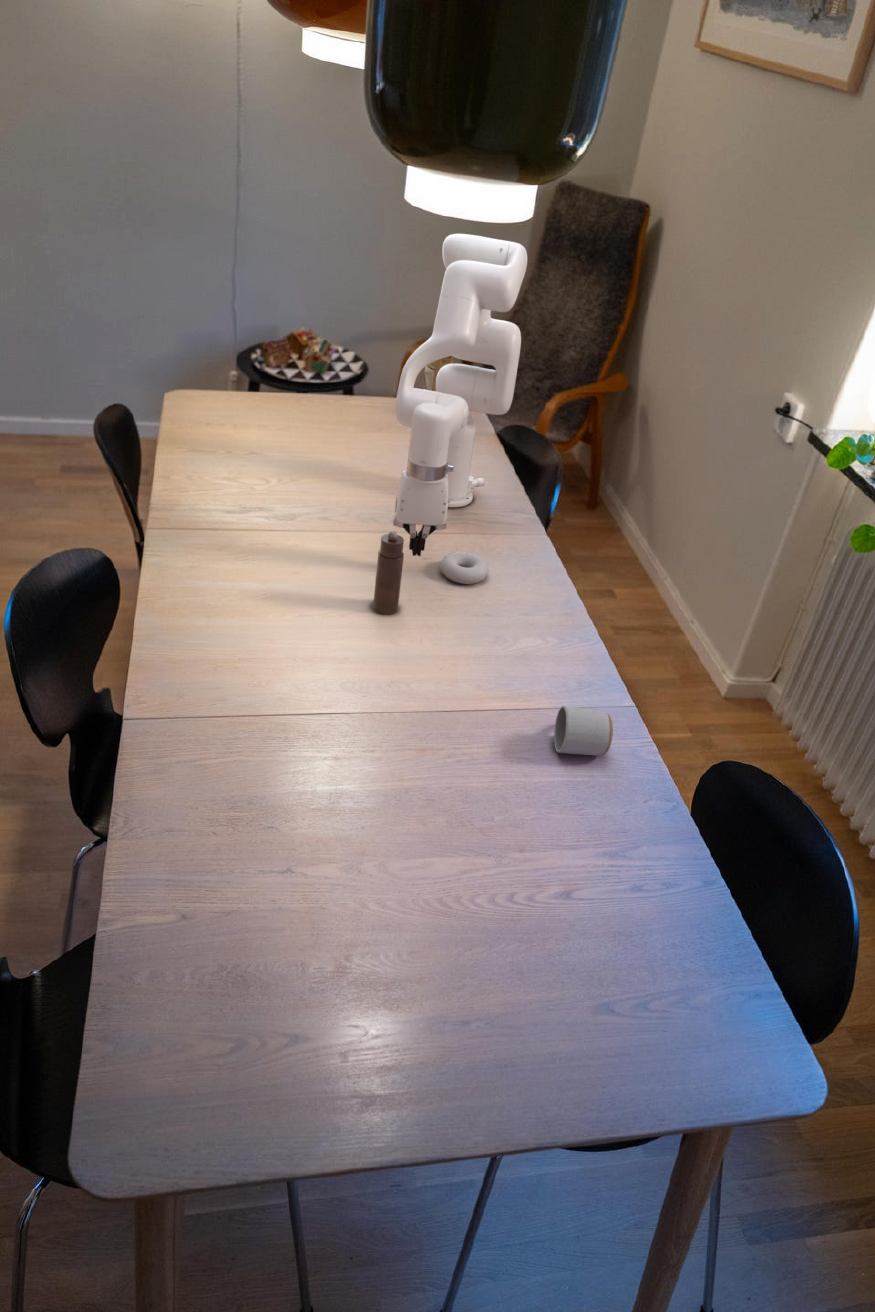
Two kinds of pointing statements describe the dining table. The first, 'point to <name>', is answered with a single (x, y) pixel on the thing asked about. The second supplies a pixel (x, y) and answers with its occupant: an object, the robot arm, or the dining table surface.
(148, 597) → the dining table surface
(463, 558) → the donut
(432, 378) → the lantern
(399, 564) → the pepper mill
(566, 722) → the ceramic mug
